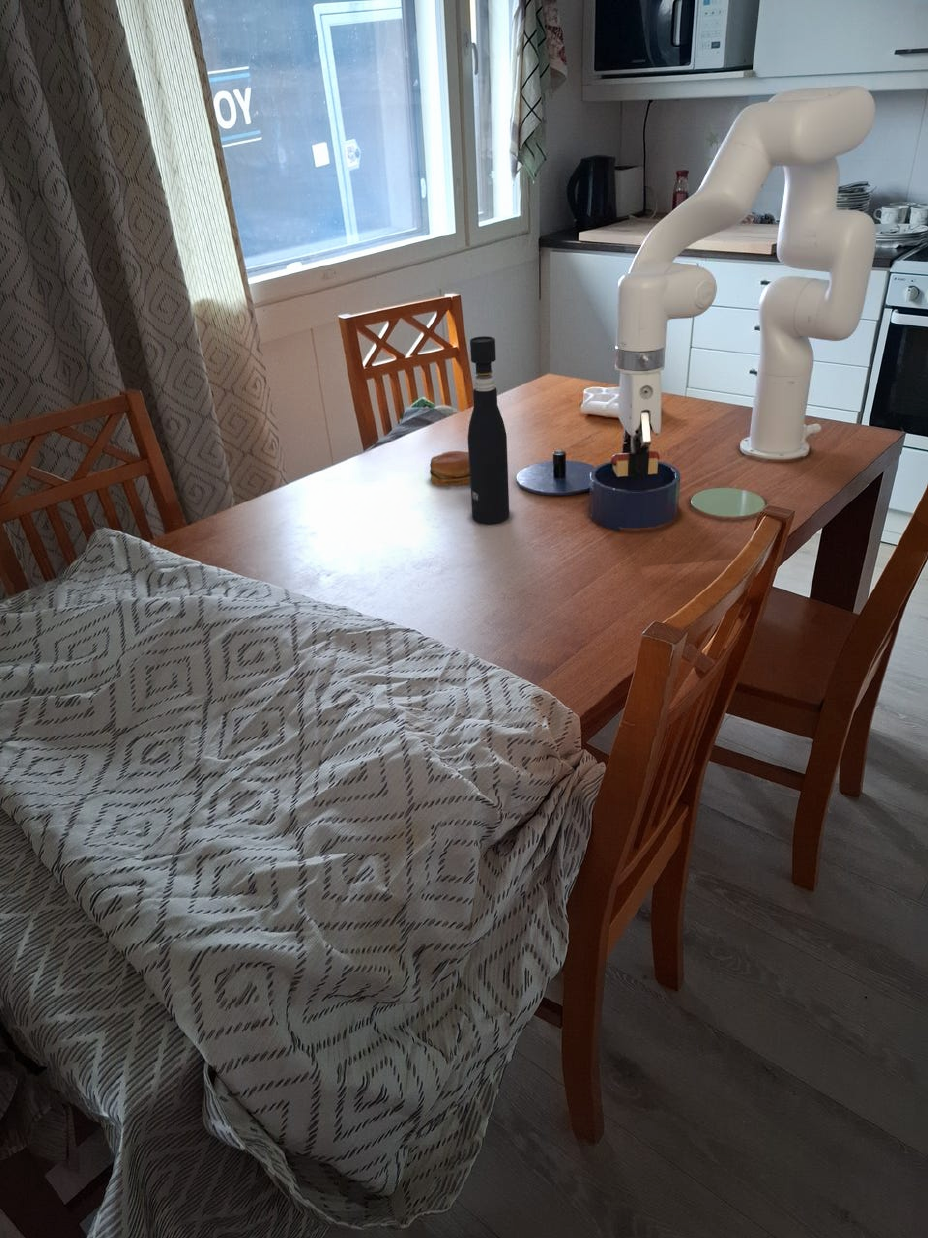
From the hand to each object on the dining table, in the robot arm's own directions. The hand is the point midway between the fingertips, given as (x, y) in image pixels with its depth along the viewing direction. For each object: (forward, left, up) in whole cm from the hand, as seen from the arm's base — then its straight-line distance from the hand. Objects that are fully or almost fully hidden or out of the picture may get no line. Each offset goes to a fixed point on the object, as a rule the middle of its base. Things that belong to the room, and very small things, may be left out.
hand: (634, 469), depth 141 cm
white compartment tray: (-29, -47, -8) cm, 56 cm away
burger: (+19, -31, -8) cm, 37 cm away
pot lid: (+3, -19, -7) cm, 21 cm away
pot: (0, 0, -8) cm, 8 cm away
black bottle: (+21, -12, -8) cm, 25 cm away
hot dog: (0, 0, 0) cm, 0 cm away
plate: (-15, +6, -8) cm, 18 cm away
